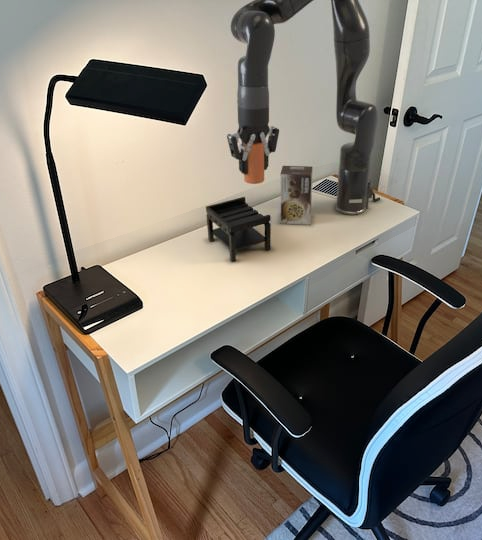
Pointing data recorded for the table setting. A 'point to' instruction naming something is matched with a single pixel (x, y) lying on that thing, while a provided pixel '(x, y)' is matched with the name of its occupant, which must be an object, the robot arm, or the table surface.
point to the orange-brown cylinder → (255, 164)
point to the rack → (237, 225)
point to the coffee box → (296, 194)
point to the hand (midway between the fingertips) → (254, 170)
